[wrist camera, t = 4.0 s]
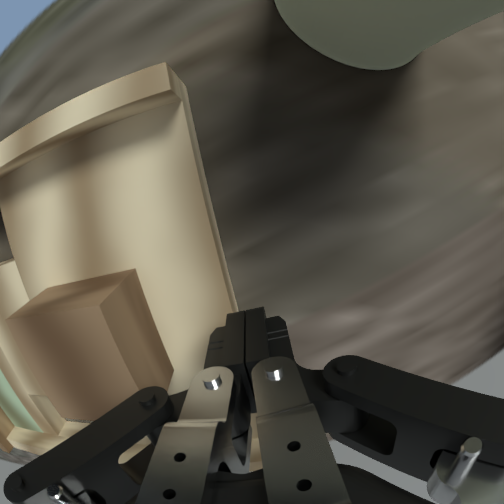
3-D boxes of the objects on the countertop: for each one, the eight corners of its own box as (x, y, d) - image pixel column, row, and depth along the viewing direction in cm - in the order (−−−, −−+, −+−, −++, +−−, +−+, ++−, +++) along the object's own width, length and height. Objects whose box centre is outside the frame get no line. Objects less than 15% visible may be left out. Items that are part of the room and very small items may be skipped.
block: (135, 268, 13) (99, 305, 10) (174, 370, 15) (157, 422, 11) (47, 287, 14) (4, 319, 10) (88, 375, 15) (61, 417, 11)
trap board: (186, 87, 13) (158, 53, 8) (270, 425, 19) (275, 480, 14) (-68, 220, 14) (-104, 234, 9) (23, 421, 20) (3, 450, 15)
